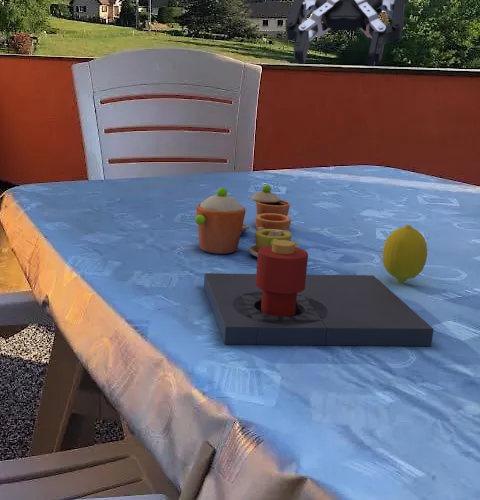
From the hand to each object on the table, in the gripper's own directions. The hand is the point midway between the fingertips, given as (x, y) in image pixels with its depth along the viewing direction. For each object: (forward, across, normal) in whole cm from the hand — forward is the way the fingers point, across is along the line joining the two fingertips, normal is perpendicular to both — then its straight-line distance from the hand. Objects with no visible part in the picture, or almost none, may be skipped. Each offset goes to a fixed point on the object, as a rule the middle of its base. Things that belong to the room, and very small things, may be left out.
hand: (335, 60), depth 88 cm
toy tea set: (+9, -13, +32) cm, 36 cm away
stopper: (+33, -1, +8) cm, 34 cm away
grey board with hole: (+30, +1, +11) cm, 32 cm away
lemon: (+17, +11, +23) cm, 31 cm away
